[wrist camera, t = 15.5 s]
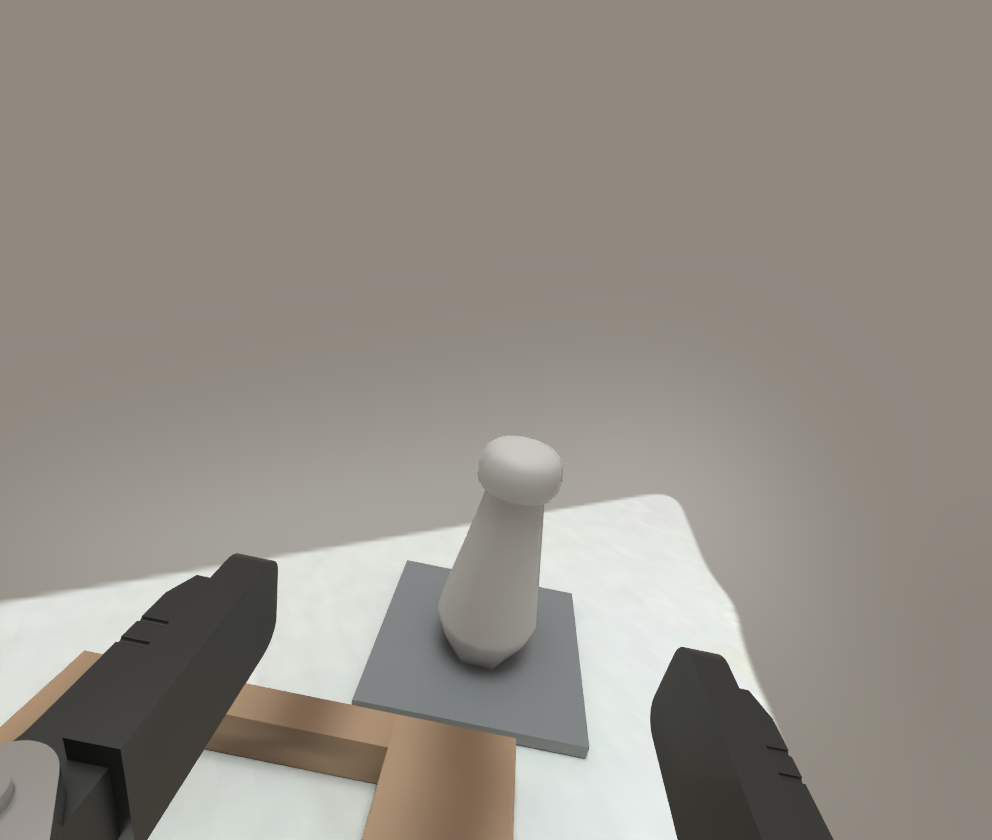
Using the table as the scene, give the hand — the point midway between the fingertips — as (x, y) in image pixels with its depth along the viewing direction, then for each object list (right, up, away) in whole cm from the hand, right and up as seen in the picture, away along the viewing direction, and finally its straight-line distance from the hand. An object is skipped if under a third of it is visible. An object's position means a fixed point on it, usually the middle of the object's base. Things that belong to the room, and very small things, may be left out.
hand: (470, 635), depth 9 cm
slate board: (-1, -10, +19) cm, 22 cm away
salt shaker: (0, -9, +19) cm, 21 cm away
